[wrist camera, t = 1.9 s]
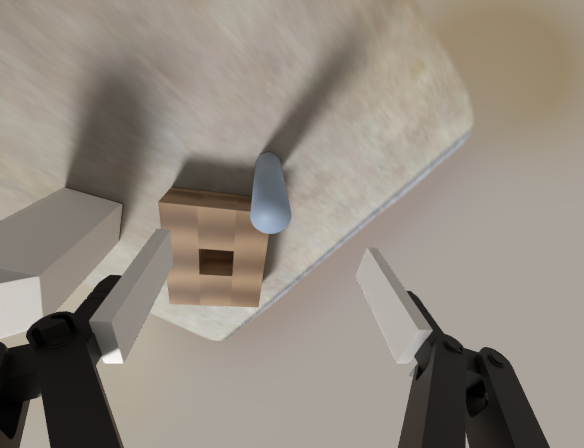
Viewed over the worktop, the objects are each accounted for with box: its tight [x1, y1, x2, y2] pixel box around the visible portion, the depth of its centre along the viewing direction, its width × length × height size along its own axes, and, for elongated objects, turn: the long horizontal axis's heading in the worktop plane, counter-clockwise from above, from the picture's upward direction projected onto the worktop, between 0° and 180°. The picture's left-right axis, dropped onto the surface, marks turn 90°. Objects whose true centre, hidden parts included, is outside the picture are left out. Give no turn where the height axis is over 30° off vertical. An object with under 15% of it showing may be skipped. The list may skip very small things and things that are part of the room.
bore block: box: [158, 187, 269, 307], centre depth 37 cm, size 18×14×5 cm
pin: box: [250, 152, 291, 234], centre depth 27 cm, size 4×4×15 cm
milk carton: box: [0, 188, 122, 339], centre depth 27 cm, size 7×7×19 cm
